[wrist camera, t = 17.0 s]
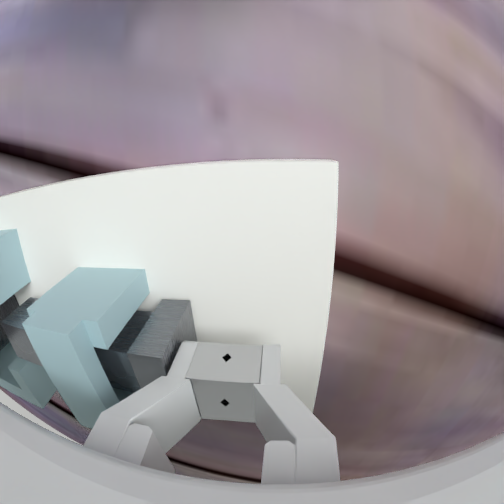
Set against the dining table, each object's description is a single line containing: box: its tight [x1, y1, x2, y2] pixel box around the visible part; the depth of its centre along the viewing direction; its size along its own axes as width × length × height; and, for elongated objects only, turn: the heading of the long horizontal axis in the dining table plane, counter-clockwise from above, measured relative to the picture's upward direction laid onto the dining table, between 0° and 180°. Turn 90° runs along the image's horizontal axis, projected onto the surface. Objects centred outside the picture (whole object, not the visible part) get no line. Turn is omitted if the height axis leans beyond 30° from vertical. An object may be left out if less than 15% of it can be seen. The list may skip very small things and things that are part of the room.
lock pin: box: [1, 297, 197, 393], centre depth 8 cm, size 8×3×3 cm, turn 92°
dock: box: [0, 159, 338, 429], centre depth 9 cm, size 21×11×5 cm, turn 92°
